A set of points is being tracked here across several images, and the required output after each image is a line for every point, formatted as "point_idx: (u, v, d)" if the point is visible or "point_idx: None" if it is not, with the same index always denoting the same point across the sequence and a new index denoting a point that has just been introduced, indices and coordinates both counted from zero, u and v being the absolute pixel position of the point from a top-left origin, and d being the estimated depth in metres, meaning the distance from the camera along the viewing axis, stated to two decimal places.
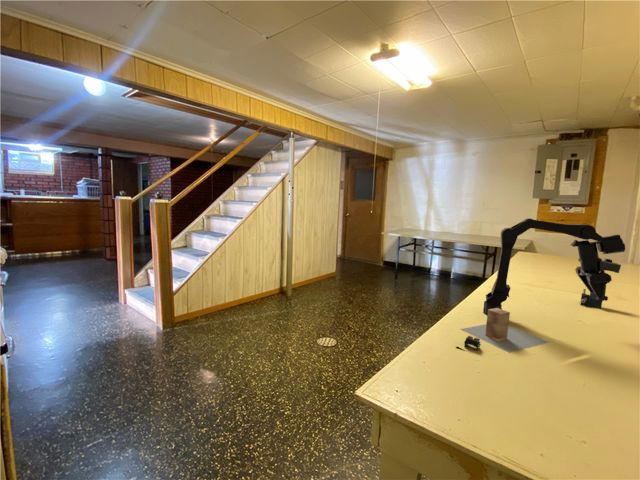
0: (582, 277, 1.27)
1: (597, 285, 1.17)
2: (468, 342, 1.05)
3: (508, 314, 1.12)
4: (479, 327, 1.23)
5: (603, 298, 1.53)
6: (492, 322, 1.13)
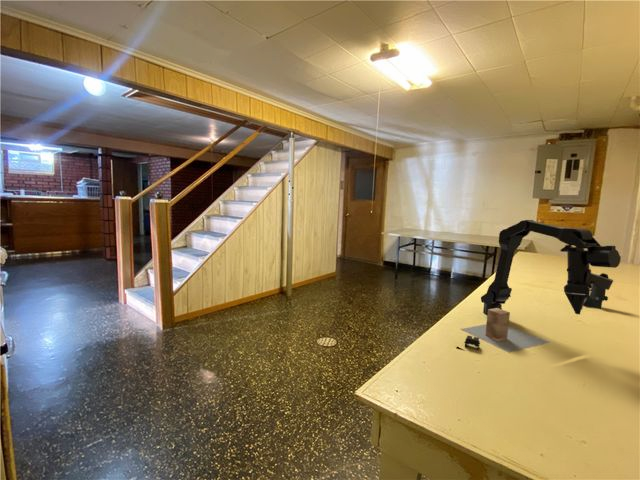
0: None
1: (575, 298, 1.01)
2: (469, 342, 1.05)
3: (508, 314, 1.12)
4: (479, 327, 1.23)
5: (603, 298, 1.53)
6: (492, 322, 1.13)
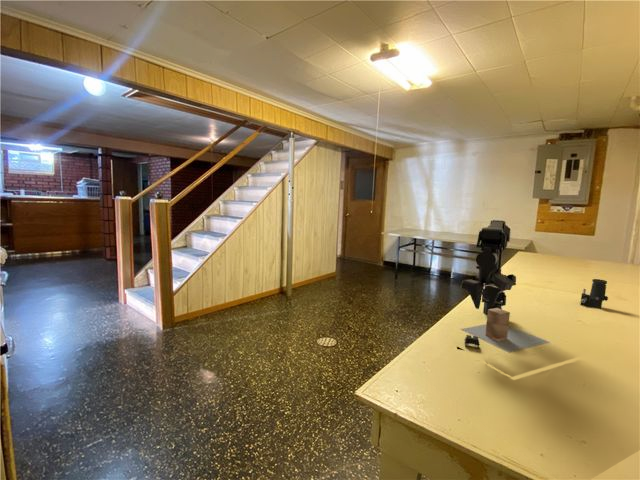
0: (488, 287, 1.13)
1: (475, 294, 1.08)
2: (469, 341, 1.05)
3: (508, 314, 1.12)
4: (479, 327, 1.23)
5: (603, 298, 1.53)
6: (492, 322, 1.13)
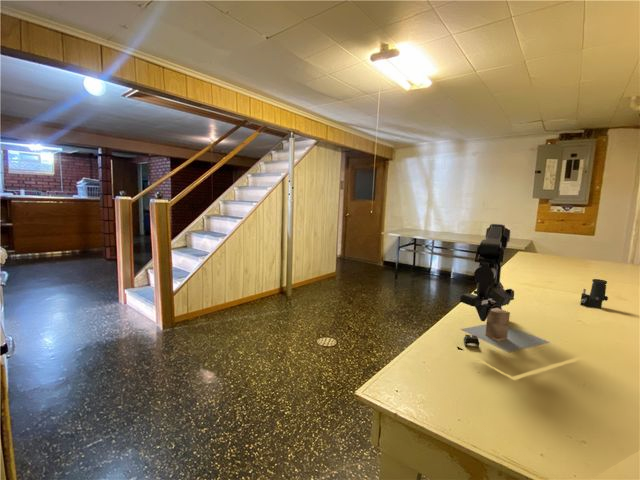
0: None
1: (480, 306, 1.10)
2: (469, 341, 1.06)
3: (508, 314, 1.12)
4: (479, 327, 1.23)
5: (603, 298, 1.53)
6: (492, 322, 1.13)
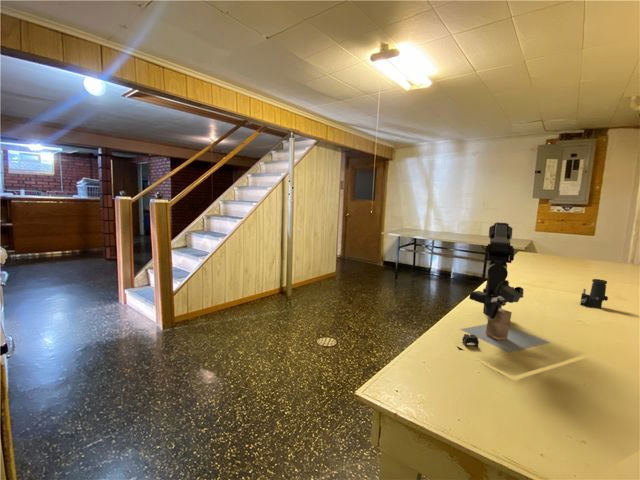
0: None
1: (489, 304, 1.12)
2: (469, 341, 1.06)
3: (510, 314, 1.13)
4: (479, 327, 1.23)
5: (603, 298, 1.53)
6: (493, 320, 1.14)
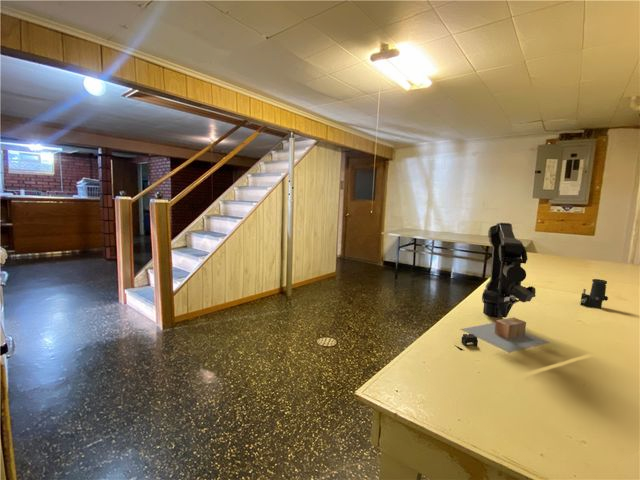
0: None
1: (502, 303, 1.15)
2: (469, 340, 1.06)
3: (523, 333, 1.17)
4: (479, 327, 1.23)
5: (603, 298, 1.53)
6: (511, 320, 1.18)
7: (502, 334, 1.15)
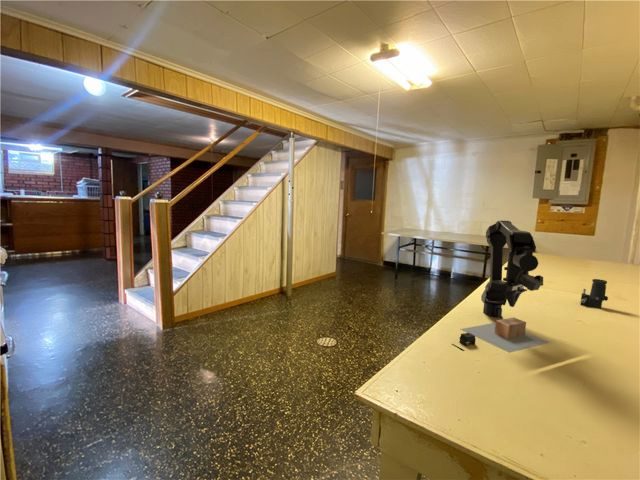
0: None
1: (509, 293, 1.15)
2: (469, 340, 1.07)
3: (523, 333, 1.17)
4: (479, 327, 1.23)
5: (603, 298, 1.53)
6: (511, 320, 1.18)
7: (502, 334, 1.15)
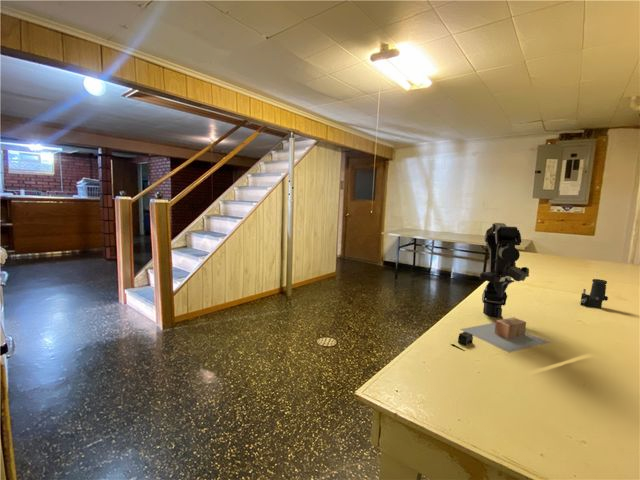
0: None
1: (498, 284, 1.23)
2: (468, 339, 1.07)
3: (523, 333, 1.17)
4: (479, 327, 1.23)
5: (603, 298, 1.53)
6: (511, 320, 1.18)
7: (502, 334, 1.15)
